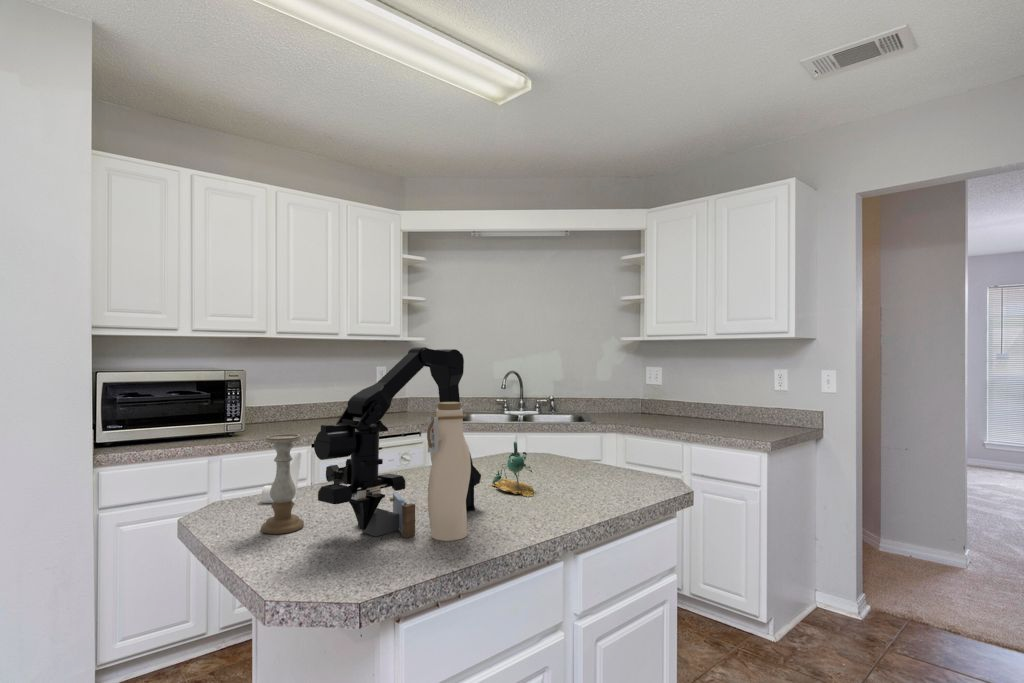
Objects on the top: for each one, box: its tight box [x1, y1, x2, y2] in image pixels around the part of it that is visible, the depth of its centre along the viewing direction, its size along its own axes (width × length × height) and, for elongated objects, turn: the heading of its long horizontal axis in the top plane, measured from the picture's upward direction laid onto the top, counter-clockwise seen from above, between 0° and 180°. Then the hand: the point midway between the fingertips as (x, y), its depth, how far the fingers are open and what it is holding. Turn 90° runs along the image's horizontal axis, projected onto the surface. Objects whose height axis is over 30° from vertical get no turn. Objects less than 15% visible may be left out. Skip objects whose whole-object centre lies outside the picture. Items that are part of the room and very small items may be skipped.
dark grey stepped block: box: [361, 507, 400, 537], centre depth 120 cm, size 5×6×5 cm
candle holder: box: [260, 433, 305, 535], centre depth 122 cm, size 9×9×20 cm
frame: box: [357, 502, 416, 539], centre depth 121 cm, size 16×2×7 cm, turn 54°
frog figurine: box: [491, 441, 535, 498], centre depth 156 cm, size 10×18×15 cm, turn 31°
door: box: [388, 492, 407, 534], centre depth 123 cm, size 11×2×6 cm, turn 22°
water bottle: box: [426, 401, 471, 542], centre depth 117 cm, size 10×9×28 cm
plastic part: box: [261, 452, 303, 504], centre depth 147 cm, size 8×10×12 cm
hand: (362, 529), depth 116 cm, fingers closed
